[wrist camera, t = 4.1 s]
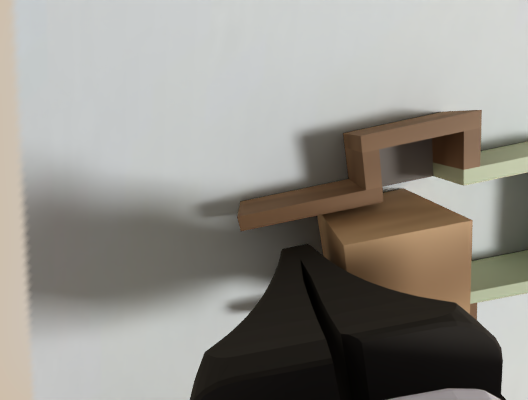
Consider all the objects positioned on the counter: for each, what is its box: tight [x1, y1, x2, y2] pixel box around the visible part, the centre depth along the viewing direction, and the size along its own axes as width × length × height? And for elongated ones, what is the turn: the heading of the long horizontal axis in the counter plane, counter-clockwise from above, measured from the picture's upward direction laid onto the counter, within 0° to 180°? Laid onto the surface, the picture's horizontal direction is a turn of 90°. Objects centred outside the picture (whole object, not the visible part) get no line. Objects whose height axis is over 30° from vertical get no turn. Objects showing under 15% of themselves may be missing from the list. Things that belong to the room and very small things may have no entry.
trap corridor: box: [237, 110, 528, 320], centre depth 12 cm, size 10×14×2 cm
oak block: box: [317, 189, 472, 314], centre depth 11 cm, size 4×4×4 cm
